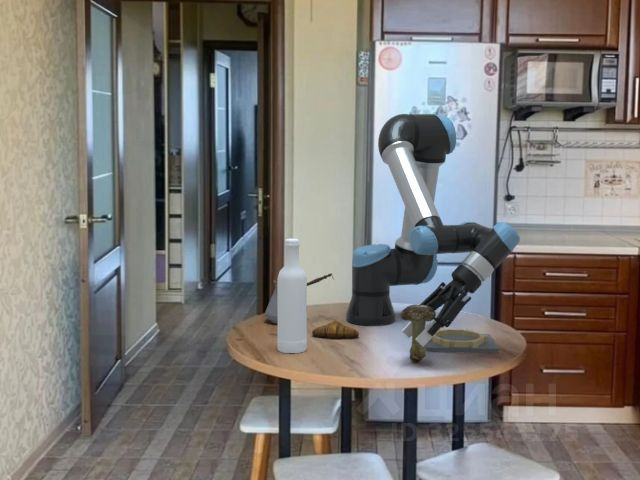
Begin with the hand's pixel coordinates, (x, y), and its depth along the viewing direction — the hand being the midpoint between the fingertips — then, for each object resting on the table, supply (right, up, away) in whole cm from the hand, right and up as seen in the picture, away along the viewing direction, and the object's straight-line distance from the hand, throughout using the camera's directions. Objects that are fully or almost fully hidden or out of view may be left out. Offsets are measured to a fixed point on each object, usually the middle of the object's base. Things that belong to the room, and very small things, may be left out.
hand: (412, 338), depth 199 cm
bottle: (-31, -5, +12) cm, 34 cm away
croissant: (-19, -3, +26) cm, 33 cm away
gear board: (+15, -4, +18) cm, 24 cm away
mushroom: (+1, -6, +1) cm, 7 cm away
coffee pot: (-30, 0, +45) cm, 54 cm away
